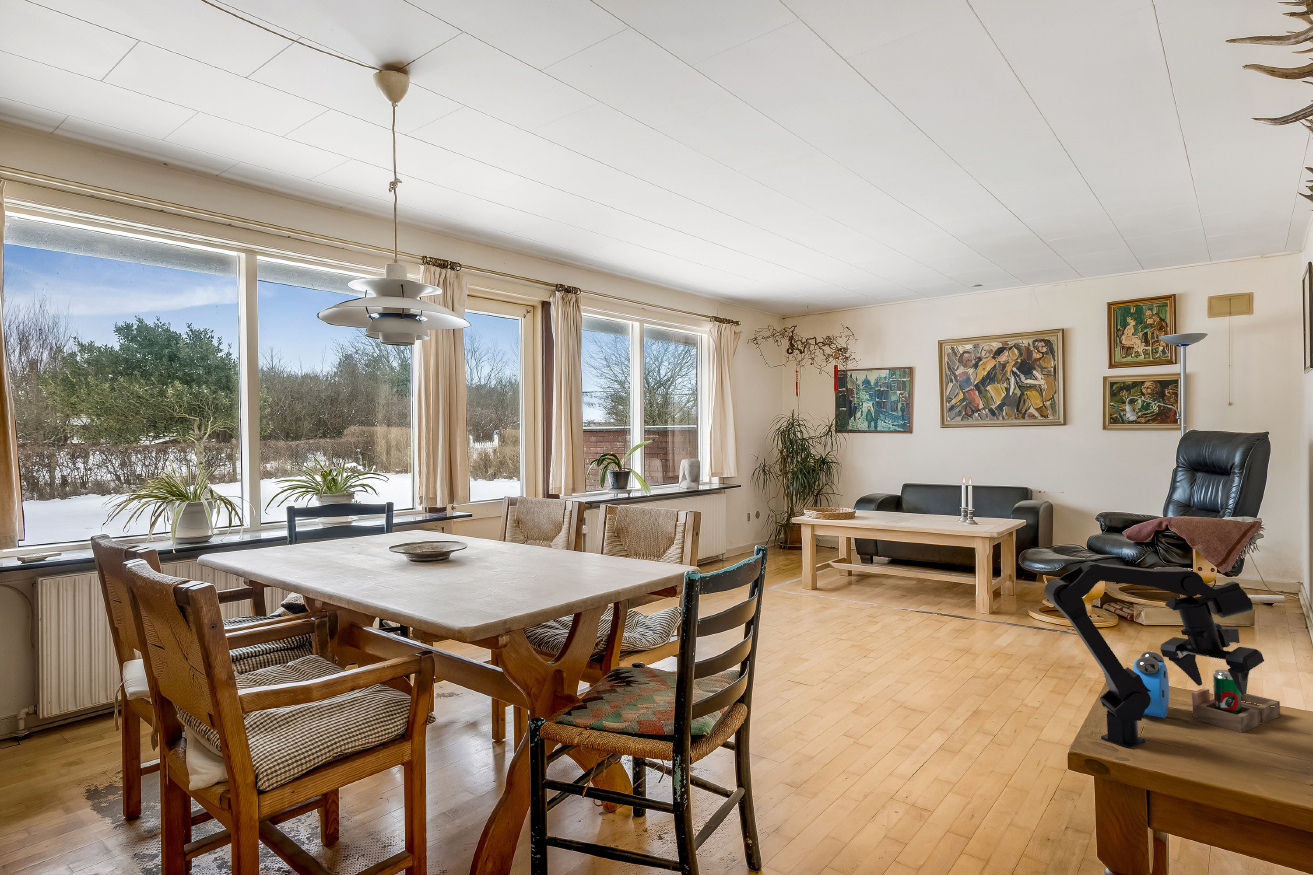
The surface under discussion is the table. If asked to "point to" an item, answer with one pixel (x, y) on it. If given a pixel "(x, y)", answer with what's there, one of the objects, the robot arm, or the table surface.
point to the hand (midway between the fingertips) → (1221, 689)
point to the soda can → (1226, 693)
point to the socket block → (1240, 722)
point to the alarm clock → (1154, 682)
